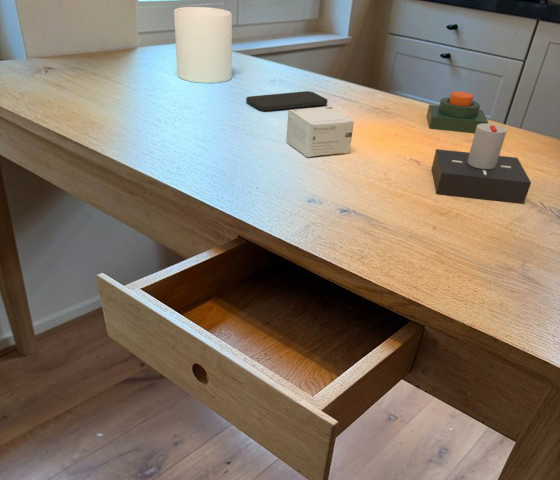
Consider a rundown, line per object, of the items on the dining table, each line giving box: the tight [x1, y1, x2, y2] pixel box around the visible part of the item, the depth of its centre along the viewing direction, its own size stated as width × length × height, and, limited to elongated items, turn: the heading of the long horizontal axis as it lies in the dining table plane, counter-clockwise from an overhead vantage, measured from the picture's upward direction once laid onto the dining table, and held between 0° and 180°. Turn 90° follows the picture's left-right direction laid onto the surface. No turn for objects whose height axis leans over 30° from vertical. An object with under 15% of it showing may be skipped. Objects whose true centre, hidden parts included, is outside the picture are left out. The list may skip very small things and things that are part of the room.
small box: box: [285, 106, 355, 158], centre depth 89 cm, size 8×8×5 cm
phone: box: [245, 90, 328, 112], centre depth 109 cm, size 7×1×15 cm
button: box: [449, 91, 474, 106], centre depth 102 cm, size 4×4×2 cm
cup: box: [173, 6, 233, 84], centre depth 118 cm, size 12×12×12 cm
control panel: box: [431, 149, 532, 204], centre depth 81 cm, size 12×10×3 cm
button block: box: [426, 97, 489, 134], centre depth 104 cm, size 10×8×4 cm
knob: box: [467, 122, 508, 169], centre depth 78 cm, size 4×4×5 cm
